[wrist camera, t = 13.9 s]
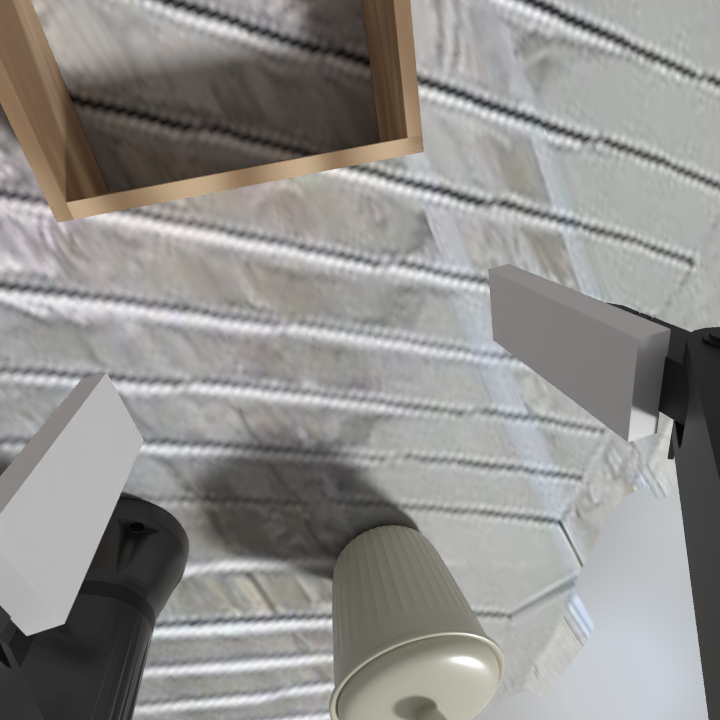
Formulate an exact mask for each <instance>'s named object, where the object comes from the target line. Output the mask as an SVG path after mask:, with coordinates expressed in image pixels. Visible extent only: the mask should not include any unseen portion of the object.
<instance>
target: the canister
mask: <svg viewBox="0 0 720 720" xmlns="http://www.w3.org/2000/svg"><path fill="white" fill-rule="evenodd" d="M332 614H333V653H334V683H335V688H334V690H333V692H332V695H331V699H330V704H329V711H330V717H331V720H471V719H472V718H473V717H474V716H476V715H477V714H478V713H479V712H480V711H481V710H482V709H483V708H484V707H485V706H486V704H487V703H488V702H489V700H490V699H491V697H492V695H493V693H494V692H495V691H496V689H497V688H498V686H499V684H500V683H501V680H502V678H503V675H504V671H505V658H504V655H503V652H502V650H501V648H500V647H499V646H498V644H497V643H496V642H495V641H493V640H492V639H491V638H490V637H488V636H486V634H485V632H484V630H483V628H482V627H481V625H480V623H479V621H478V619H477V618H476V616H475V614H474V613H473V611H472V609H471V607H470V606H469V604H468V602H467V601H466V599H465V597H464V595H463V594H462V592H461V590H460V588H459V587H458V585H457V583H456V582H455V580H454V578H453V576H452V575H451V573H450V571H449V570H448V568H447V566H446V565H445V563H444V562H443V560H442V558H441V557H440V555H439V554H438V552H437V550H436V549H435V548H434V546H433V545H432V544H431V542H430V541H429V540H428V539H427V538H426V537H425V536H423V535H422V534H421V533H420V532H418V531H416V530H414V529H412V528H408V527H406V526H400V525H389V526H386V525H384V526H381V527H376V528H374V529H370V530H368V531H366V532H363V533H362V534H360V535H357V536H356V538H354V539H352V540H351V541H350V543H349V544H347V545H346V546H345V548H344V549H343V550H342V551H341V553H340V556H339V557H338V559H337V561H336V565H335V568H334V573H333V586H332Z"/></svg>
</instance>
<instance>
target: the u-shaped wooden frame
mask: <svg viewBox="0 0 720 720" xmlns="http://www.w3.org/2000/svg"><path fill="white" fill-rule="evenodd" d="M362 6H363V14H364V22H365V30H366V37H367V45H368V53H369V61H370V68H371V76H372V84H373V91H374V99H375V107H376V115H377V122H378V130H379V138H380V142H378V143H373V144H368V145H362V146H357V147H352V148H347V149H341V150H336V151H331V152H325V153H320V154H315V155H309V156H304V157H299V158H294V159H288V160H283V161H278V162H272V163H267V164H262V165H256V166H251V167H246V168H241V169H235V170H230V171H225V172H219V173H214V174H209V175H204V176H198V177H193V178H188V179H182V180H177V181H172V182H166V183H161V184H156V185H151V186H145V187H140V188H135V189H129V190H124V191H119V192H113V193H109V191H108V188H107V186H106V183H105V181H104V178H103V176H102V173H101V171H100V169H99V166H98V164H97V161H96V159H95V156H94V154H93V151H92V149H91V147H90V144H89V142H88V139H87V137H86V134H85V132H84V129H83V127H82V125H81V122H80V120H79V117H78V115H77V112H76V110H75V107H74V105H73V103H72V100H71V98H70V95H69V93H68V90H67V88H66V85H65V83H64V81H63V78H62V76H61V73H60V71H59V68H58V66H57V63H56V61H55V59H54V56H53V54H52V51H51V49H50V46H49V44H48V41H47V39H46V36H45V34H44V32H43V29H42V27H41V24H40V22H39V19H38V17H37V14H36V12H35V10H34V7H33V5H32V2H31V0H0V103H1V105H2V107H3V109H4V112H5V114H6V116H7V118H8V120H9V122H10V124H11V126H12V128H13V131H14V133H15V135H16V137H17V139H18V141H19V143H20V145H21V147H22V149H23V152H24V154H25V156H26V158H27V160H28V162H29V164H30V166H31V168H32V170H33V173H34V175H35V177H36V179H37V181H38V183H39V185H40V187H41V189H42V191H43V194H44V196H45V198H46V200H47V202H48V204H49V206H50V208H51V210H52V212H53V215H54V217H55V219H56V221H57V222H63V221H68V220H73V219H78V218H83V217H88V216H94V215H99V214H104V213H109V212H114V211H119V210H125V209H130V208H135V207H140V206H145V205H151V204H156V203H161V202H166V201H171V200H176V199H182V198H187V197H192V196H197V195H202V194H208V193H213V192H218V191H223V190H228V189H233V188H239V187H244V186H249V185H254V184H259V183H265V182H270V181H275V180H280V179H285V178H290V177H296V176H301V175H306V174H311V173H316V172H321V171H327V170H332V169H337V168H342V167H347V166H353V165H358V164H363V163H368V162H373V161H378V160H384V159H389V158H394V157H399V156H404V155H410V154H415V153H420V152H424V151H423V140H422V129H421V118H420V106H419V95H418V84H417V72H416V61H415V50H414V38H413V27H412V16H411V4H410V0H362Z"/></svg>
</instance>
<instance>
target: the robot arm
mask: <svg viewBox="0 0 720 720" xmlns="http://www.w3.org/2000/svg"><path fill="white" fill-rule="evenodd" d="M489 284H490V298H491V313H492V327H493V340H494V341H495V342H497V343H498V344H499V345H501V346H502V347H503V348H505V349H506V350H507V351H508V352H510V353H511V354H512V355H514V356H515V357H516V358H518V359H519V360H520V361H522V362H523V363H524V364H526V365H527V366H528V367H530V368H531V369H532V370H534V371H535V372H536V373H537V374H539V375H540V376H541V377H543V378H544V379H545V380H547V381H548V382H549V383H551V384H552V385H553V386H555V387H556V388H557V389H559V390H560V391H561V392H563V393H564V394H565V395H566V396H568V397H569V398H570V399H572V400H573V401H574V402H576V403H577V404H578V405H580V406H581V407H582V408H584V409H585V410H586V411H588V412H589V413H590V414H591V415H593V416H594V417H595V418H597V419H598V420H599V421H601V422H602V423H603V424H605V425H606V426H607V427H609V428H610V429H611V430H613V431H614V432H615V433H617V434H618V435H619V436H620V437H622V438H623V439H624V440H626V441H627V442H630V441H633V440H636V439H639V438H642V437H646V436H649V435H652V434H655V433H657V426H658V419H659V412H662V413H664V414H665V415H667V416H668V417H670V418H672V419H673V420H674V421H673V428H672V434H671V440H670V446H669V453H668V459H674V456H675V464H676V471H677V479H678V487H679V494H680V501H681V510H682V517H683V525H684V532H685V541H686V548H687V555H688V563H689V571H690V579H691V587H692V594H693V602H694V610H695V617H696V625H697V632H698V641H699V647H700V656H701V664H702V672H703V679H704V686H705V694H706V702H707V710H708V718H709V720H720V327H712V328H703V329H699V330H695V331H693V332H689V331H687V330H684V329H682V328H679V327H677V326H674V325H671V324H669V323H666V322H664V321H661V320H659V319H656V318H651V316H648V315H646V314H643V313H639V312H638V311H636V310H633V309H630V308H628V307H625V306H622V305H617V304H611V303H605V302H602V301H600V300H597V299H595V298H592V297H590V296H587V295H585V294H582V293H580V292H577V291H575V290H572V289H570V288H567V287H565V286H562V285H560V284H557V283H555V282H552V281H550V280H547V279H545V278H542V277H540V276H537V275H535V274H532V273H530V272H528V271H525V270H523V269H520V268H518V267H515V266H513V265H510V264H507V265H503V266H499V267H496V268H492V269H489ZM143 441H144V440H143V438H142V437H141V435H140V433H139V431H138V429H137V428H136V426H135V424H134V422H133V420H132V418H131V417H130V415H129V413H128V411H127V409H126V407H125V406H124V404H123V402H122V400H121V398H120V396H119V395H118V393H117V391H116V389H115V387H114V385H113V384H112V382H111V380H110V378H109V376H108V374H107V373H103V374H99V375H96V376H92V377H88V378H85V379H82V380H81V381H80V382H79V383H78V385H77V386H76V387H75V388H74V389H73V390H72V392H71V393H70V394H69V395H68V396H67V398H66V399H65V400H64V401H63V402H62V404H61V405H60V406H59V407H58V408H57V409H56V411H55V412H54V413H53V414H52V415H51V417H50V418H49V419H48V420H47V421H46V423H45V424H44V425H43V426H42V427H41V428H40V430H39V431H38V432H37V433H36V434H35V436H34V437H33V438H32V439H31V440H30V441H29V443H28V444H27V445H26V446H25V447H24V449H23V450H22V451H21V452H20V453H19V455H18V456H17V457H16V458H15V459H14V460H13V462H12V463H11V464H10V465H9V466H8V468H7V469H6V470H5V471H4V472H3V474H2V475H1V476H0V720H132V718H133V713H134V709H135V705H136V701H137V697H138V692H139V688H140V684H141V680H142V676H143V671H144V667H145V663H146V659H147V655H148V650H149V646H150V642H151V638H152V633H153V629H154V626H155V622H156V619H157V618H158V616H159V614H160V613H161V611H162V609H163V608H164V606H165V604H166V602H167V601H168V599H169V597H170V596H171V594H172V592H173V590H174V589H175V587H176V586H177V585H178V583H179V582H180V580H181V578H182V576H183V573H184V571H185V567H186V562H187V557H188V552H189V542H188V538H187V535H186V533H185V531H184V529H183V528H182V526H181V525H180V524H179V522H178V521H177V520H176V519H175V518H173V517H172V516H171V515H170V514H168V513H167V512H165V511H164V510H162V509H160V508H158V507H156V506H154V505H151V504H148V503H145V502H141V501H137V500H132V499H125V498H119V496H120V494H121V492H122V489H123V487H124V485H125V483H126V480H127V478H128V476H129V473H130V471H131V469H132V466H133V464H134V462H135V459H136V457H137V455H138V452H139V450H140V448H141V445H142V443H143Z"/></svg>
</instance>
